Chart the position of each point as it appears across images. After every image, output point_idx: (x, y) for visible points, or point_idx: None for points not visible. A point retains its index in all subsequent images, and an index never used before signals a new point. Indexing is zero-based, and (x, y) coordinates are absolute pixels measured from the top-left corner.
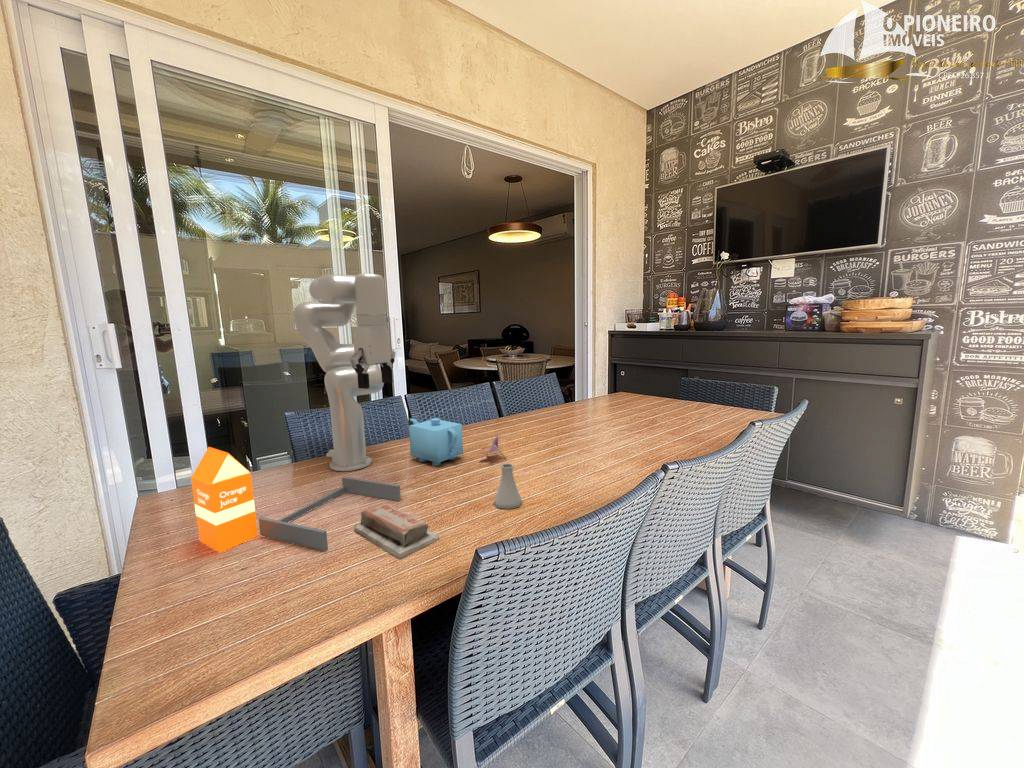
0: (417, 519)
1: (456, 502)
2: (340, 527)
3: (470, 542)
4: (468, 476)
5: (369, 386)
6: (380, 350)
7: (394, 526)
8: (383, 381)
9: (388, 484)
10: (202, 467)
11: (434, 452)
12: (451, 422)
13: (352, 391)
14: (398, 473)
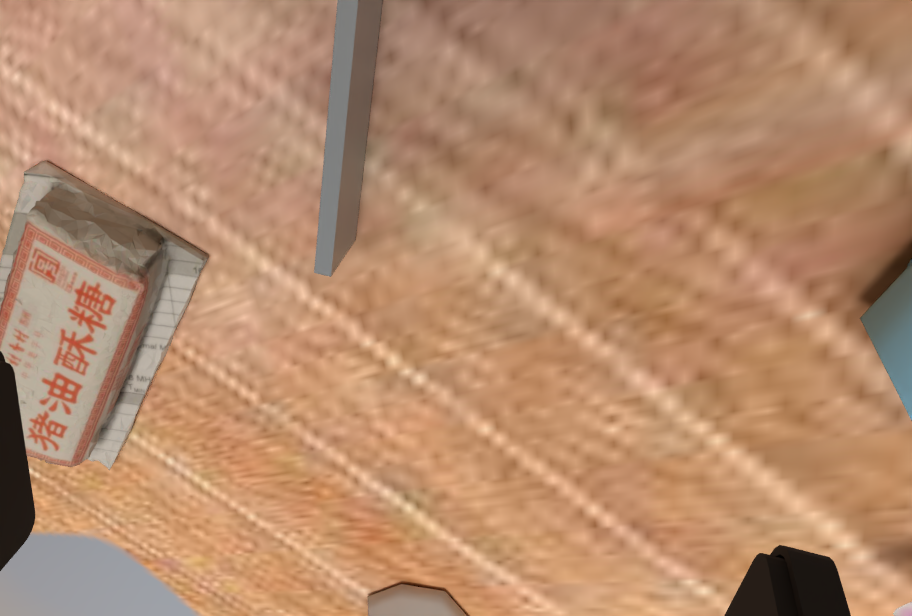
0: (77, 435)
1: (387, 467)
2: (34, 85)
3: (136, 539)
4: (700, 473)
5: (17, 548)
6: None
7: None
8: (749, 591)
9: (324, 213)
10: None
11: (904, 330)
12: None
13: None
14: (755, 66)
